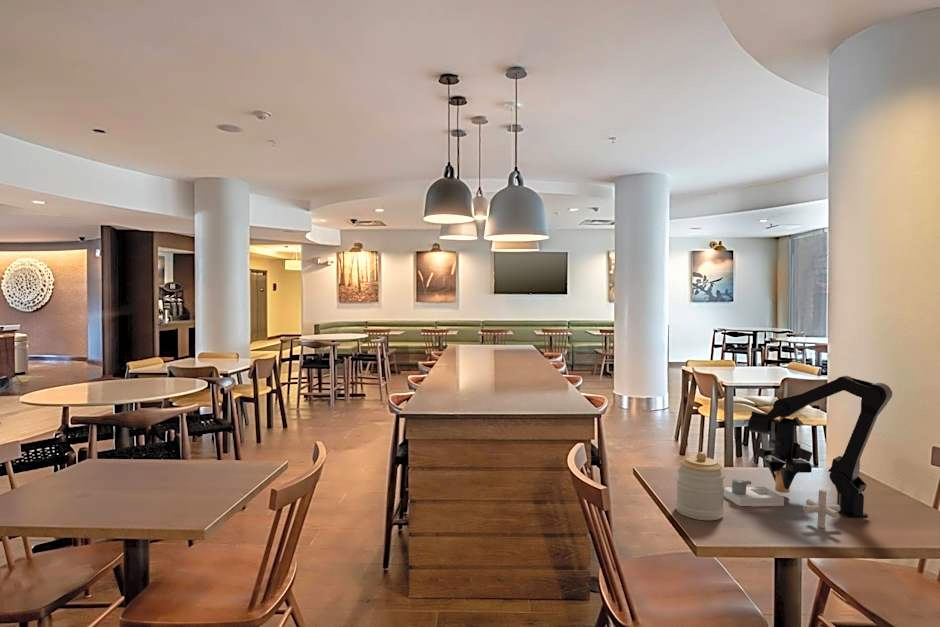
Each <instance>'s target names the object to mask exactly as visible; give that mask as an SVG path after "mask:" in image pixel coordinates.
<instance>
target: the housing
mask: <svg viewBox="0 0 940 627" xmlns="http://www.w3.org/2000/svg"><path fill="white" fill-rule="evenodd" d="M747 485H752V481H751V480H743V479H739V478H737V479H735V478H734V479H732V480H731V487H728V486H727V487H725V489H724V498H725V499H727V500H728V501H730V502H732V503H734V504H735V505H737V506H738V505H739V506H738V507H740V506H751V507H783V506H784V505H785V497H784V496H782V495H780V494H778V493H777V492H775V491H773V490H771V489H769V488H767V487H765V486H747Z"/></svg>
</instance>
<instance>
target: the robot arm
mask: <svg viewBox="0 0 940 627" xmlns="http://www.w3.org/2000/svg"><path fill="white" fill-rule="evenodd" d="M843 391H845V392H847V393H849V394H852V395H853V396H855V397H857V398H858V397H859V398H861V401H860V412H859V415H858V418H857V421H856V422H855V425H854V429H853V430H852V433H851V435H850V438H849V440H848V442H847V445H846V447H845V450H844V453H843V455H842V456H841V455H839V456H837V457H835V458H833V459H832V462H831V467H830V468H829V469H828V470H827V472H829V480H830V481H831V483H832V484H833V485H834V486H835V489H836V492H837V496H836V497H837V498H836V499H837V500H836V505H839V506H840V511H839V512H838V513H839V514H842V515H844V516H845V517H847V518H860V517H861V518H863V517H865V518H866V517H867V518H868V517H869V514H868V513H866V512H864V504H865V495H864V494H863V492H865V490H866V488H867V486H868V484H867V483H866V482H864V480H863V479H862V478H861V476H860V468H861V465H860V464H861V457H862V455H863V452H864V450H865V447H866V445H867V443H868V440H869V438H870V436H871V433H872V430H873V428H874V426H875V423H876V422H877V418H878V416H879V415H880V414H881V412H882V411H883V410H884V409H885V407H886V406H887V405H888V403H889V401H891V399H892V397H893V391H892V389H891V387H890V386H889V385H888V384H886V383H884V382H875V383H874V382H870V381H867V380H862V379H859V378H858V379H857V378H854V377H851V376H849V375H842V376H839V377H837V378H836V379H834V380H831V381H830V382H826V383H823V384H822V385H820V386H817V387H814V388H813V389H810V390H807V391H805V392H803V393H799V394H795V395H790V396H789V395H788V396H786V397H782V398H779V399H776V400H775V401H774V402H773V405H772V406H773V407H772V409H771V410H770V411H769V412H768V413H767V412H762V411H761V412H760V411H758V410H753V411H751V415H750V417H749V421H748V422H747V427H748V430H749V432H751V433H757V434H758V433H759V434H762V435H763V434H764V435H768V436H769V435H771V433H774V436H773V437H774V438H770V443H772V444H773V447H759V449H758V450H757V457H759V458H761V459H765V458H766V459H765V460H764V463H765V464H766V466H767V467H768V469H769V471H770V473H771V475H772V476H771V477H772V478H773V480H774V482H775V481H776V475H775V474H774V471H776V470H781V474H782V479H783V484H784V487H785V489H789V487H791V485H792V483H793V481H794V479H795V476H796V475H797V474H798V473H799V474H801V473H812V470H813V468H812V467H813V466H812V464H811V463H810V461H811V459H812V456H813V454H814V453H813V452H812V451H810V450H807V449H804V448H802V447H801V444H800V443H799V442H797V441H796V427H800V426H804V423H803V421H802V420H800V419H799V416H795V417H793V418H789V417H791V416H793V415H796V414H797V413H798V412H800V411H803V410H804V409H805V408H807V406H809V405H811V404H814V403H815V402H819V401H820V400H823V399H825V398H828V397H831V396H833V395H836V394H838V393H841V392H843ZM780 417H781V419H779V418H780ZM777 418H778V419H777Z"/></svg>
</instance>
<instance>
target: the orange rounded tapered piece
mask: <svg viewBox="0 0 940 627" xmlns="http://www.w3.org/2000/svg"><path fill="white" fill-rule="evenodd" d="M774 474H775V475H776V481H775V480H774V482H775V484H774V485H775V486H774V488H775V489H774V490H775V491H777V492H778V493H783V494H787V493H788V494H789V493H790V487H791V486H790V487H789V489H785V487H784V484H783V479H782V474H781V470H776V471H774Z"/></svg>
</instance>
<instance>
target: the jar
mask: <svg viewBox="0 0 940 627" xmlns="http://www.w3.org/2000/svg"><path fill="white" fill-rule="evenodd" d="M679 463H680V466H679V467H678V468H676V471H677V473H678V478H677V479H676V500H675V507H676V508H675V509H676V511H677V513H678V514H680V515H682V516H684V517H686V518H690V519H694V520H700V521H718V520H720V519H722V518H723V515H724V512H725V507H724V498H725V497H724V489H725V485H724V479H725V478H726V473H724V472H723V471H722V469H723V466H722V465H721V463H719V462H718V461H717V460H715V459H713V458H710V457H707V455H706V453H704V452H702V451H699V452H697V453H696V456H694V455H693V456H687V457H686V458H684V459H681V460H680V461H679Z"/></svg>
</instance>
